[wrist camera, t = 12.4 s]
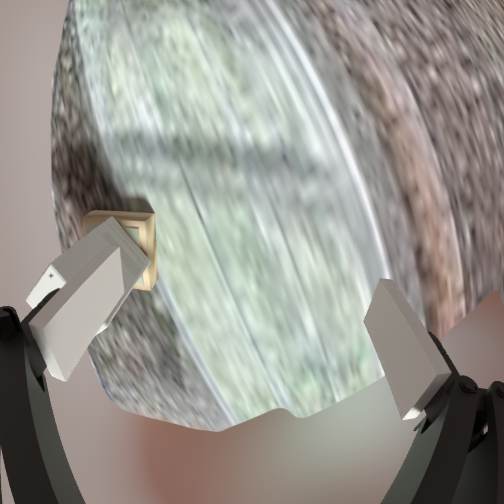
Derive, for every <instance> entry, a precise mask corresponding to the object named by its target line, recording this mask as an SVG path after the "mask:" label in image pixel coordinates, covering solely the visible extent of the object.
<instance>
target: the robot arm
mask: <svg viewBox="0 0 504 504" xmlns="http://www.w3.org/2000/svg"><path fill="white" fill-rule="evenodd" d="M124 293H125V292H124V285H123V276H122V267H121V257H120V246H113V245H106V246H105V247H104V248H103V249H102V250H100V251H99V252H98V253H97V254H96V255H95V256H94V257H93V258H92V259H91V260H90V261H89V262H88V263H86V264H85V265H84V266H83V267H82V268H81V269H80V270H79V271H78V272H77V273H76V274H75V275H74V276H73V277H72V278H71V279H70V280H69V281H68V282H67V283H66V284H65V285H64V286H63V287H62V288H61V289H60V288H57V289H55V290H53V291H52V292H50V293H48V294H47V295H46V296H45V297H44V298H43V299H42V301H40V302H39V304H38V305H37V307H35V308H34V309H33V310H32V311H31V312H30V313H29V314H28V316H26V317H25V318H24V320H23V321H22V322H21V323H20V321H19V318H18V315H17V312H16V310H15V309H14V308H13V307H10V306H3V307H0V450H1V449H2V454H3V459H4V464H5V469H6V473H7V477H8V481H9V485H10V488H11V492H12V495H13V498H14V502H15V504H85V501H84V499H83V497H82V495H81V493H80V491H79V488H78V486H77V484H76V481H75V479H74V476H73V474H72V471H71V469H70V466H69V463H68V461H67V458H66V455H65V452H64V449H63V446H62V443H61V440H60V436H59V433H58V430H57V426H56V422H55V419H54V415H53V411H52V407H51V403H50V398H49V393H48V388H47V383H46V378H45V376H44V373H43V371H44V370H45V368H46V367H47V368H48V370H49V372H50V374H51V376H52V377H55V378H57V379H60V380H62V381H65V382H66V381H67V380H68V378H69V376H70V375H71V373H72V371H73V370H74V368H75V366H76V365H77V363H78V362H79V360H80V358H81V356H82V355H83V354H84V352H85V350H86V349H87V347H88V346H89V344H90V343H91V341H92V340H93V338H94V336H95V335H96V333H97V332H98V330H99V329H100V327H101V326H102V324H103V323H104V321H105V320H106V318H107V317H108V316H109V314H110V313H111V311H112V310H113V308H114V307H115V305H116V304H117V303H118V301H119V300H120V298H121V297H122V296H123V294H124ZM364 324H365V326H366V328H367V331H368V333H369V335H370V338H371V340H372V343H373V345H374V347H375V350H376V352H377V355H378V357H379V360H380V362H381V365H382V367H383V370H384V372H385V375H386V377H387V380H388V382H389V386H390V388H391V391H392V394H393V396H394V399H395V402H396V404H397V407H398V410H399V413H400V416H401V419H402V420H405V419H411V418H417V416H418V415H419V414H420V413H421V412H422V411H423V409H424V410H425V412H426V416H425V417H424V418H423V420H422V421H421V422H420V423H419V424H418V425H417V426H416V427H415V429H414V431H416V430H417V429H418V428H419V430H418V432H417V435H416V437H415V439H414V441H413V444H412V446H411V448H410V450H409V452H408V454H407V457H406V459H405V461H404V463H403V465H402V467H401V469H400V470H399V472H398V474H397V476H396V478H395V480H394V482H393V483H392V485H391V487H390V489H389V490H388V492H387V494H386V495H385V497H384V499H383V501H382V502H381V504H504V383H502V382H500V381H495V382H493V383H492V384H491V386H490V387H489V388H488V389H482V388H478V386H477V384H476V383H475V382H474V380H472V379H471V378H469V377H467V376H464V375H463V376H460V375H459V373H458V371H457V369H456V368H455V366H454V364H453V363H452V361H451V359H450V358H449V356H448V354H446V351H445V350H444V348H443V346H442V345H441V343H440V341H439V340H438V338H436V337H435V336H434V335H433V334H432V333H431V332H427V330H426V329H425V327H424V326H423V324H422V323H421V321H420V320H419V318H418V317H417V315H416V314H415V312H414V310H413V309H412V307H411V306H410V305H409V303H408V302H407V300H406V299H405V297H404V296H403V294H402V293H401V291H400V290H399V289H398V287H397V286H396V284H395V283H394V282H393V280H390V279H381V278H380V279H379V282H378V285H377V288H376V290H375V293H374V296H373V298H372V301H371V304H370V306H369V309H368V311H367V314H366V316H365V319H364ZM487 425H488V432H487V433H486V434H484V428H486V426H487ZM0 504H2V494H1V475H0Z"/></svg>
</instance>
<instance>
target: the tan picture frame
mask: <svg viewBox="0 0 504 504" xmlns="http://www.w3.org/2000/svg"><path fill="white" fill-rule="evenodd" d="M111 216H113V217H114V219H115V220H116V221H117V222H118V223H119V225H120V226H121V227H122V228H123V229H124V231H125V232H126V233H127V234H128V235H129V237H130V238H131V239H132V240H133V241H134V242H135V244H136V245H137V246H138V247H139V248H140V249H141V251H142V252H143V253H144V254H145V255H146V256H147V257H148V259H149V260H150V261H151V263H150V265H149V266H148V267H147V269H146V270H145V271H144V273H143V274H142V276H141V277H140V279H139V280H138V281H137V283H136V284H135V286H134V287H133V288H134V289H141V290H148V291H151V289H152V288H153V286H154V284H155V283H156V281H157V280H158V265H157V249H156V228H155V213H145V212H127V211H107V210H93V211H91V212H90V213H88V214H86V215H85V216H83V217H82V218H81V221H82V229H83V237H84V236H85V235H87V234H88V233H89V232H91V231H92V230H93V229H95V228H96V227H97V226H99V225H100V224H102V223H103V222H104V221H106V220H107V219H108V218H110V217H111Z"/></svg>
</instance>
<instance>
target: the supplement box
mask: <svg viewBox="0 0 504 504" xmlns="http://www.w3.org/2000/svg"><path fill="white" fill-rule="evenodd" d="M106 245H113V246H120V257H121V267H122V276H123V285H124V292H125V293H124V294H123V296H122V297H121V298H120V300H119V301H118V303H117V304H116V305H115V307H114V308H113V310H112V311H111V313H110V314H109V316H108V317H107V318H106V320H105V321H104V323H103V324H102V326H101V327H100V329H99V330H98V332H97V333H96V335H97V334H98V333H100V332H101V331H103V330H104V329H105V328H107V327H108V326H109V324H110V322H111V320H112V319H113V317H114V316H115V314H116V312H117V311H118V309H119V308H120V306H121V305H122V303H123V302H124V300H125V299H126V297H127V296H128V294H129V293H130V292H131V290H132V289H133V287H134V286H135V284H136V283H137V281H138V280H139V279H140V277H141V276H142V274H143V273H144V271H145V270H146V269H147V267H148V266H149V265H150V263H151V261H150V260H149V259H148V257H147V256H146V255H145V254H144V253H143V252H142V251H141V249H140V248H139V247H138V246H137V245H136V244H135V242H134V241H133V240H132V239H131V238H130V237H129V235H128V234H127V233H126V232H125V231H124V229H123V228H122V227H121V226H120V225H119V223H118V222H117V221H116V220H115V219H114V217H113V216H111V217H110V218H108V219H107V220H106V221H104V222H103V223H102V224H100V225H99V226H97V227H96V228H95V229H93V230H92V231H91V232H89V233H88V234H87V235H85V236H84V237H83V238H82V239H80V240H79V241H78V242H76V243H75V244H74V245H73V246H71V247H70V248H69V249H68V250H66V251H65V252H64V253H63V254H61V255H60V256H59V257H58V258H56V259H55V260H54V261H53V262H52V263H50V264H49V266H48V267H47V269H46V270H45V271H44V273H43V274H42V276H41V277H40V279H39V281H38V282H37V283H36V285H35V287H34V288H33V290H32V291H31V293H30V294H29V296H28V298H27V299H26V301H27V303H28V304H29V305H30V306H31V307H32V308H33V309H34V308H35V307H37V305H38V304H39V302H40V301H42V299H43V298H44V297H45V296H46V295H47V294H48V293H50V292H52V291H53V290H55V289H57V288H60V289H61V288H62V287H63V286H64V285H65V284H66V283H67V282H68V281H69V280H70V279H71V278H72V277H73V276H74V275H75V274H76V273H77V272H78V271H79V270H80V269H81V268H82V267H83V266H84V265H85V264H86V263H88V262H89V261H90V260H91V259H92V258H93V257H94V256H95V255H96V254H97V253H98V252H99V251H100V250H102V249H103V248H104V247H105V246H106Z"/></svg>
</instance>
